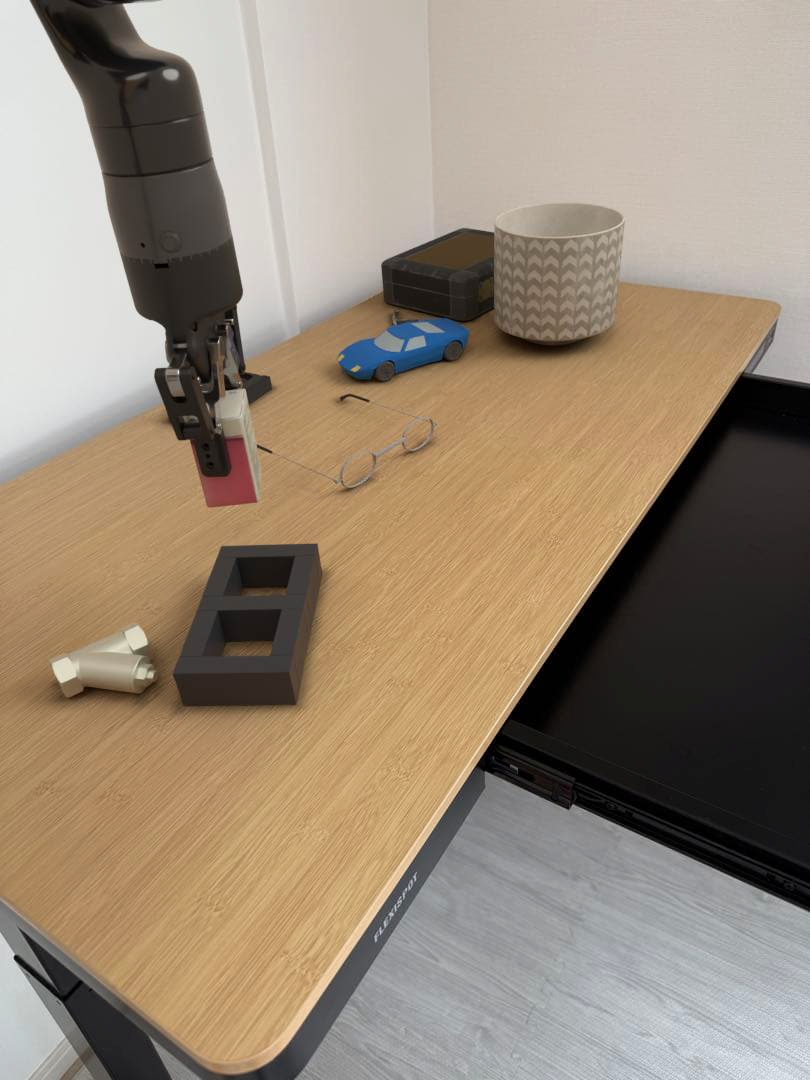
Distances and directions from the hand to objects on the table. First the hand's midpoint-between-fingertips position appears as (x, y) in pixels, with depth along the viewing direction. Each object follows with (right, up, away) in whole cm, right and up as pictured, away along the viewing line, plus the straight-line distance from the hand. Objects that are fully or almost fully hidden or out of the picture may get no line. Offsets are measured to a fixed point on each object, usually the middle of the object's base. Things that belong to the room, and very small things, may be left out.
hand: (226, 453), depth 63 cm
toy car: (+14, +21, +60) cm, 65 cm away
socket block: (0, -16, +12) cm, 20 cm away
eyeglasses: (+6, +6, +41) cm, 42 cm away
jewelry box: (+25, +39, +84) cm, 96 cm away
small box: (0, -3, +2) cm, 4 cm away
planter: (+38, +26, +65) cm, 80 cm away
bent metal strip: (+14, +31, +74) cm, 81 cm away
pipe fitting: (-12, -20, +8) cm, 25 cm away
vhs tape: (-13, +13, +53) cm, 56 cm away
